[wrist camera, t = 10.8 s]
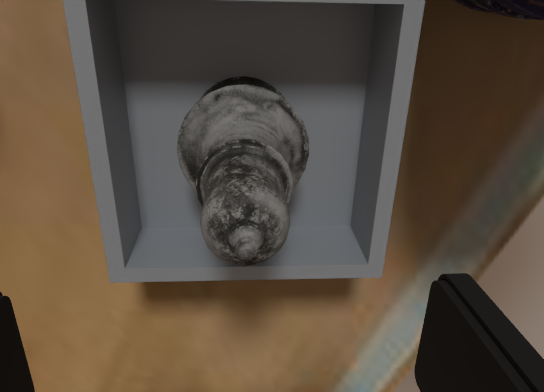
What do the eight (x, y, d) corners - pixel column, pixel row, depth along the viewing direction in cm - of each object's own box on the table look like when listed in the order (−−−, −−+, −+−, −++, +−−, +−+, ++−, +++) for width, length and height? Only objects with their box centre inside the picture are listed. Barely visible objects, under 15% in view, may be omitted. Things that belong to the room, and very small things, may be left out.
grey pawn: (304, 72, 22) (368, 158, 11) (295, 181, 24) (339, 338, 13) (183, 67, 21) (126, 151, 10) (187, 178, 24) (143, 339, 13)
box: (358, 228, 27) (381, 277, 22) (132, 231, 26) (110, 282, 22) (388, -18, 21) (428, -19, 17) (99, -25, 20) (58, -28, 16)
